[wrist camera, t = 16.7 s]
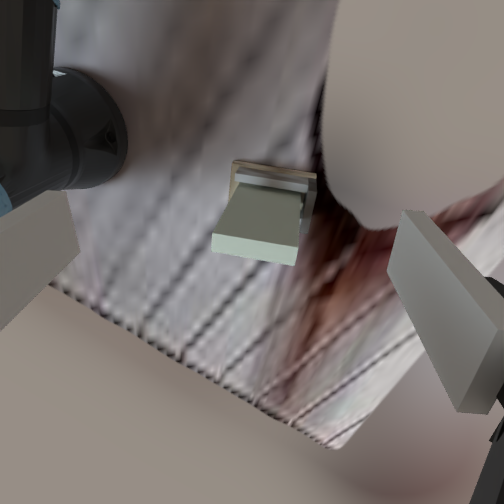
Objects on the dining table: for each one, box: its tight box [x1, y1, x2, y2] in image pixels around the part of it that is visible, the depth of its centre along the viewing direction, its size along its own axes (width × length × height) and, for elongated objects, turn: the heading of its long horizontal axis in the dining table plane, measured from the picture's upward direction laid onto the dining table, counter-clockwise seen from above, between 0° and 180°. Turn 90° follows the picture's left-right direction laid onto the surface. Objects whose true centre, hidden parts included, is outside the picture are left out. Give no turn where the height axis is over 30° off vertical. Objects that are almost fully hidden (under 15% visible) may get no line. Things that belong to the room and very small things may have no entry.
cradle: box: [228, 160, 317, 234], centre depth 45 cm, size 11×6×6 cm, turn 83°
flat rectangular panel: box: [211, 182, 301, 266], centre depth 40 cm, size 8×3×16 cm, turn 83°
